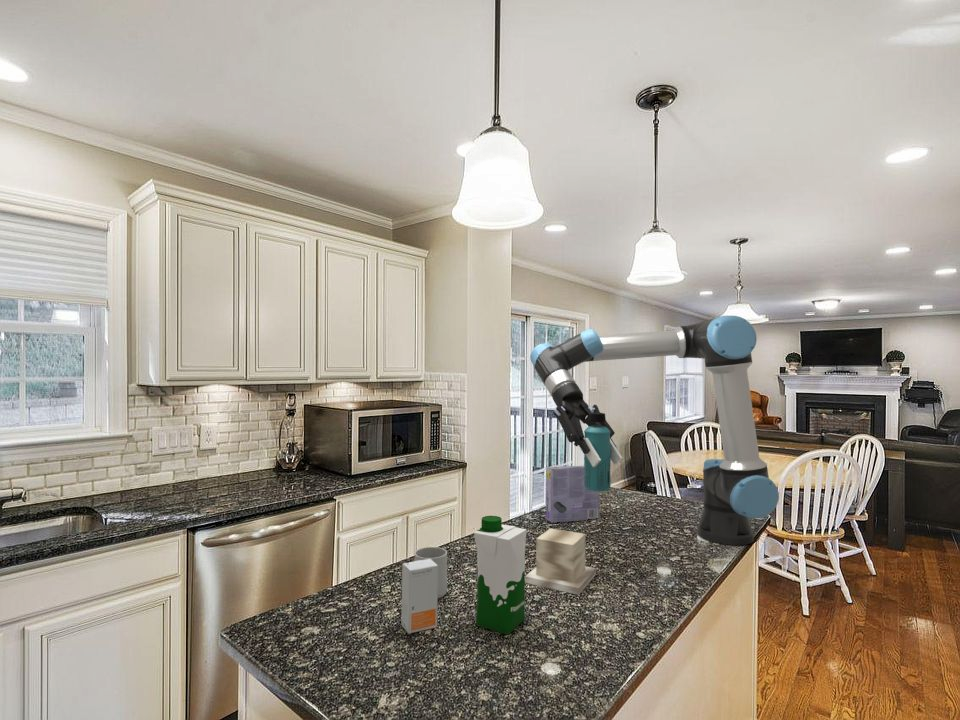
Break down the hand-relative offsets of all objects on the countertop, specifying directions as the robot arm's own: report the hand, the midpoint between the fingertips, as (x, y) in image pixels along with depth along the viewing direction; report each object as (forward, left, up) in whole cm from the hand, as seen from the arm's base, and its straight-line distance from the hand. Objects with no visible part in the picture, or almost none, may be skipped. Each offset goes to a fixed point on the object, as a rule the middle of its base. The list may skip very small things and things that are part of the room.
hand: (607, 462), depth 123 cm
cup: (+33, +29, -28) cm, 52 cm away
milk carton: (+13, +32, -28) cm, 44 cm away
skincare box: (+26, +41, -28) cm, 56 cm away
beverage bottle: (+3, -2, -9) cm, 9 cm away
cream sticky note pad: (+10, +6, -28) cm, 30 cm away
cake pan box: (+23, -42, -28) cm, 56 cm away
